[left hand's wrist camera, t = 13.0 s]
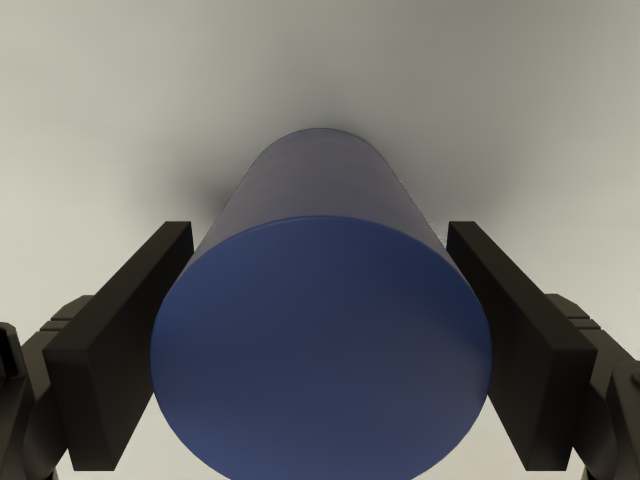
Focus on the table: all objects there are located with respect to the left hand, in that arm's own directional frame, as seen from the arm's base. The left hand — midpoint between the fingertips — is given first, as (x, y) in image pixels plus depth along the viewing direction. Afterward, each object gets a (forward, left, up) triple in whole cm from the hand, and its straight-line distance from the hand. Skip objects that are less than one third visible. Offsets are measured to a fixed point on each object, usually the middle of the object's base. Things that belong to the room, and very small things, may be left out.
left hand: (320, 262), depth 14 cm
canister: (0, 0, -6) cm, 6 cm away
